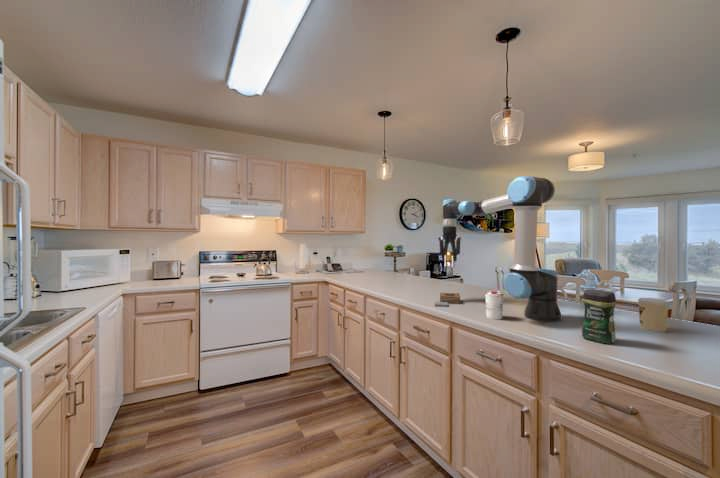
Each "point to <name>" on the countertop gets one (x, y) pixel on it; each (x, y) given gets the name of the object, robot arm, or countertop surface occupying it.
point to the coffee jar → (599, 316)
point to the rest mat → (441, 304)
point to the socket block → (450, 298)
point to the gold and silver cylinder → (449, 263)
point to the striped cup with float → (494, 304)
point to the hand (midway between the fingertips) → (449, 266)
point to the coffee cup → (653, 314)
